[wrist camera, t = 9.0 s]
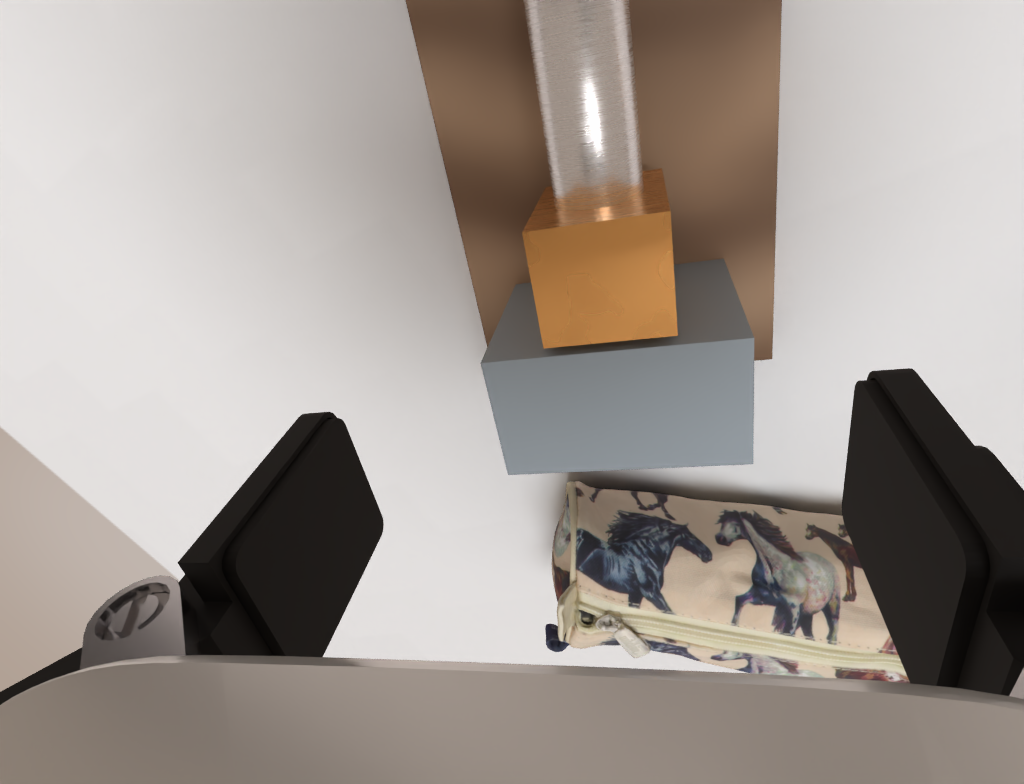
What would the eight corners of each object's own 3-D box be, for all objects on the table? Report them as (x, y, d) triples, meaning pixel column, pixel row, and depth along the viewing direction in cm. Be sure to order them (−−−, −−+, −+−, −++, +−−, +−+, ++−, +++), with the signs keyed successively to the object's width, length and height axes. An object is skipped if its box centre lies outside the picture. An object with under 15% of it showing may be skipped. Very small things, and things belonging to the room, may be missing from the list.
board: (288, -567, 17) (260, -615, 15) (790, -833, 14) (806, -919, 12) (501, 367, 31) (495, 382, 30) (765, 344, 28) (772, 359, 27)
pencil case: (554, 550, 38) (532, 695, 30) (566, 444, 34) (544, 580, 25) (920, 609, 35) (1006, 785, 27) (987, 501, 31) (1114, 674, 23)
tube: (487, -183, 18) (430, -263, 13) (636, -231, 17) (637, -339, 12) (572, 356, 27) (559, 433, 22) (673, 347, 26) (683, 425, 21)
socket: (515, 284, 27) (480, 363, 21) (723, 258, 25) (754, 338, 19) (534, 378, 30) (508, 474, 23) (725, 363, 27) (752, 464, 21)
